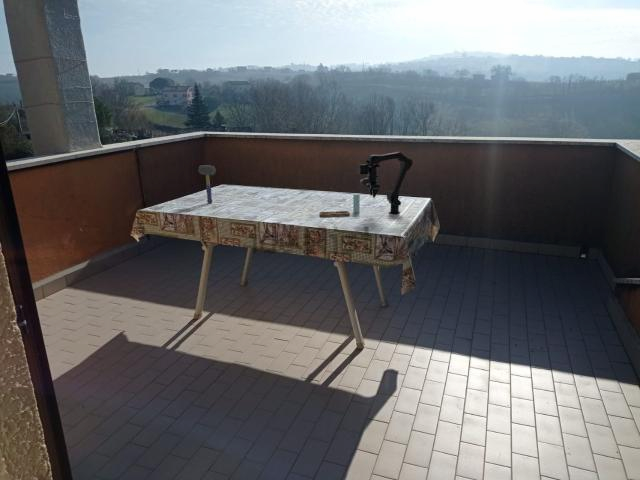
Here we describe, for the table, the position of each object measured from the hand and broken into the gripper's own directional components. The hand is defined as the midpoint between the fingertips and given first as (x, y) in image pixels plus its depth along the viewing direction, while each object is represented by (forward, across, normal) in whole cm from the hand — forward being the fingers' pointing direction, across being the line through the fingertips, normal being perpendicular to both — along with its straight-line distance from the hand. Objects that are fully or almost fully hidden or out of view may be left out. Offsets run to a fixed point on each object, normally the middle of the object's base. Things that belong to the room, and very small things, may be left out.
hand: (372, 196), depth 313 cm
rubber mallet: (+13, -58, -118) cm, 132 cm away
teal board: (+13, -9, -9) cm, 19 cm away
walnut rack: (+13, -4, -26) cm, 29 cm away
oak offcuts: (+13, -3, -27) cm, 30 cm away
